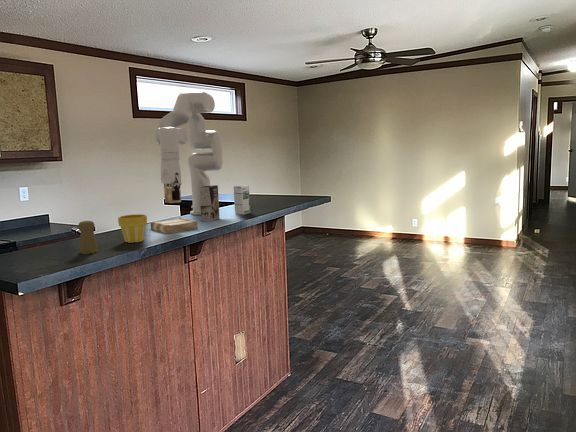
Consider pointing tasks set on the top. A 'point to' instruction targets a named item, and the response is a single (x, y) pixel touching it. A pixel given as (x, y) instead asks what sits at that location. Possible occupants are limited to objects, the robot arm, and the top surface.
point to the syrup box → (242, 199)
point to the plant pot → (133, 227)
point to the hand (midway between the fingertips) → (172, 199)
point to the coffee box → (209, 203)
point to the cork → (87, 237)
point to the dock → (174, 225)
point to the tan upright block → (170, 194)
